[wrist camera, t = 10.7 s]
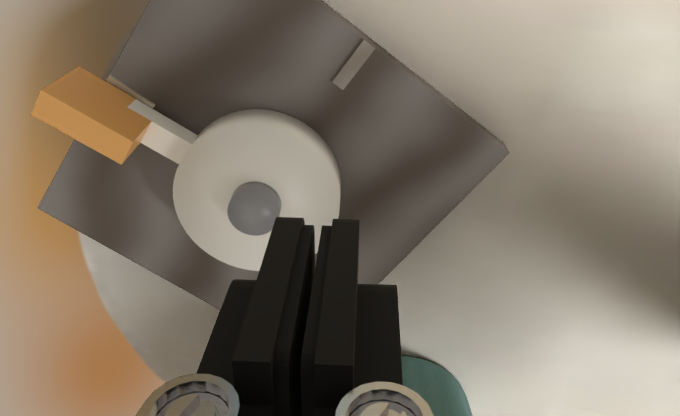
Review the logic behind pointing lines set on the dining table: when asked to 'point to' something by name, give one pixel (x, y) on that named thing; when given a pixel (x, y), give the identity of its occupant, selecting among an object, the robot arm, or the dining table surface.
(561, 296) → the dining table surface
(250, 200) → the white handled round piece
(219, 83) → the dial board
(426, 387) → the flower pot
